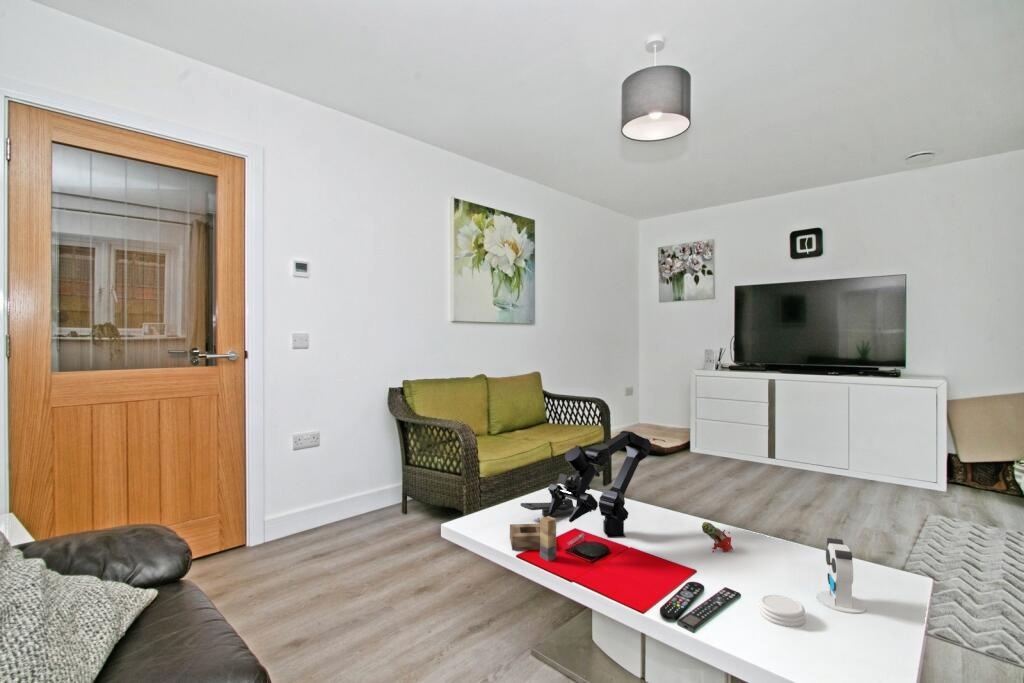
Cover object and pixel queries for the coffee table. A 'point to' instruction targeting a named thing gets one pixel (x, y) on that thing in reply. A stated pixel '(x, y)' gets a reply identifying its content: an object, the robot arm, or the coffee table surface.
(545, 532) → the rail post
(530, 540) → the post foot
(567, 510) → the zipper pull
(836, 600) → the panda figurine
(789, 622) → the coaster
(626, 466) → the robot arm
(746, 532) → the coffee table surface
